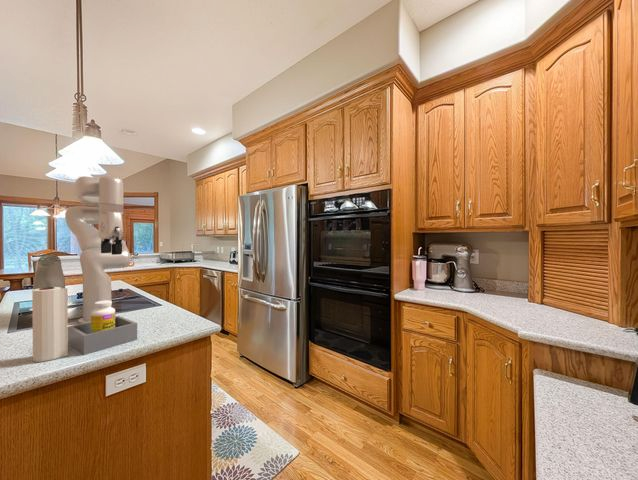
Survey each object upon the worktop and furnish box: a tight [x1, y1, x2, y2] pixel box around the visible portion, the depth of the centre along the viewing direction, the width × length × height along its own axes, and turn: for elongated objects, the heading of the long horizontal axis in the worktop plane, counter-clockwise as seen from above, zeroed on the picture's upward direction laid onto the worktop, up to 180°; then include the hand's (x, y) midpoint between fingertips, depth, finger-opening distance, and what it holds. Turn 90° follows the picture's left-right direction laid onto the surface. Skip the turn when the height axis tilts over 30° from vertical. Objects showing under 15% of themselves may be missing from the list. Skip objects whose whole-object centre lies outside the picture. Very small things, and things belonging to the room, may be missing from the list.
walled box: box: [68, 315, 138, 356], centre depth 94 cm, size 15×15×6 cm
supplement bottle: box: [91, 299, 116, 333], centre depth 94 cm, size 7×7×13 cm
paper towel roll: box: [31, 287, 69, 363], centre depth 81 cm, size 7×6×21 cm
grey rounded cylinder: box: [32, 254, 66, 290], centre depth 120 cm, size 10×10×28 cm
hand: (111, 253), depth 104 cm, fingers open, 9 cm apart
